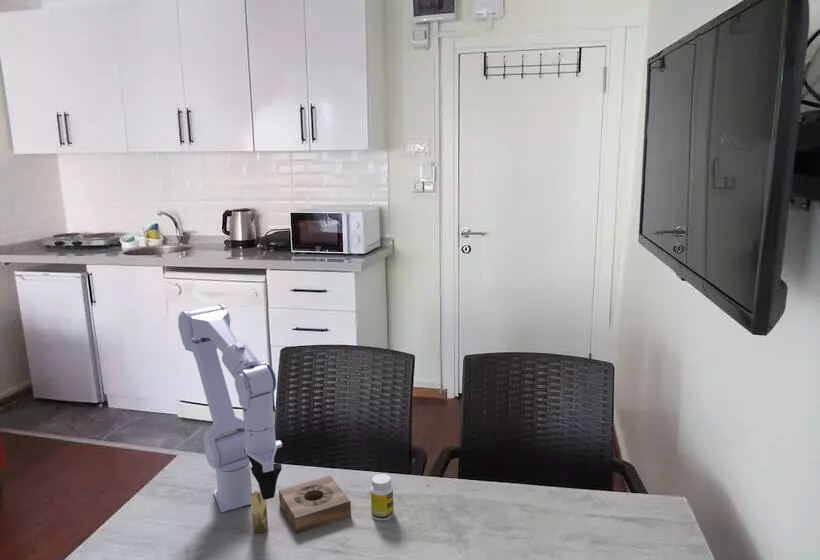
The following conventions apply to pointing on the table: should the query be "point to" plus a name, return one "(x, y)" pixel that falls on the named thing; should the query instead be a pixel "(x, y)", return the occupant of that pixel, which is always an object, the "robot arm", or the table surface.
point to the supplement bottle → (382, 497)
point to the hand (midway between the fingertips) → (265, 488)
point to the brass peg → (259, 513)
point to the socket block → (314, 503)
